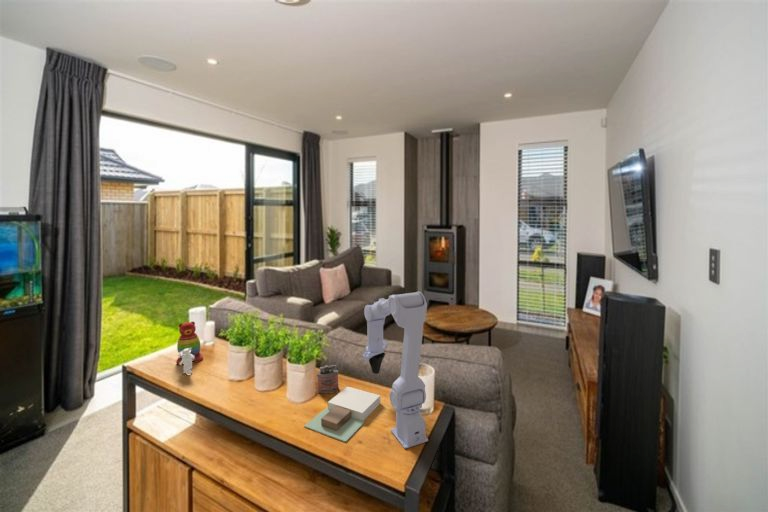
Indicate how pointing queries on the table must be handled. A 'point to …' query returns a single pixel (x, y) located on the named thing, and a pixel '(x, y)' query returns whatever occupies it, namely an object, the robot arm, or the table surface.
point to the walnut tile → (336, 418)
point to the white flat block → (355, 402)
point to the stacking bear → (189, 341)
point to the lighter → (327, 379)
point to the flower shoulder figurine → (186, 360)
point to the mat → (341, 434)
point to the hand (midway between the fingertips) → (375, 372)
